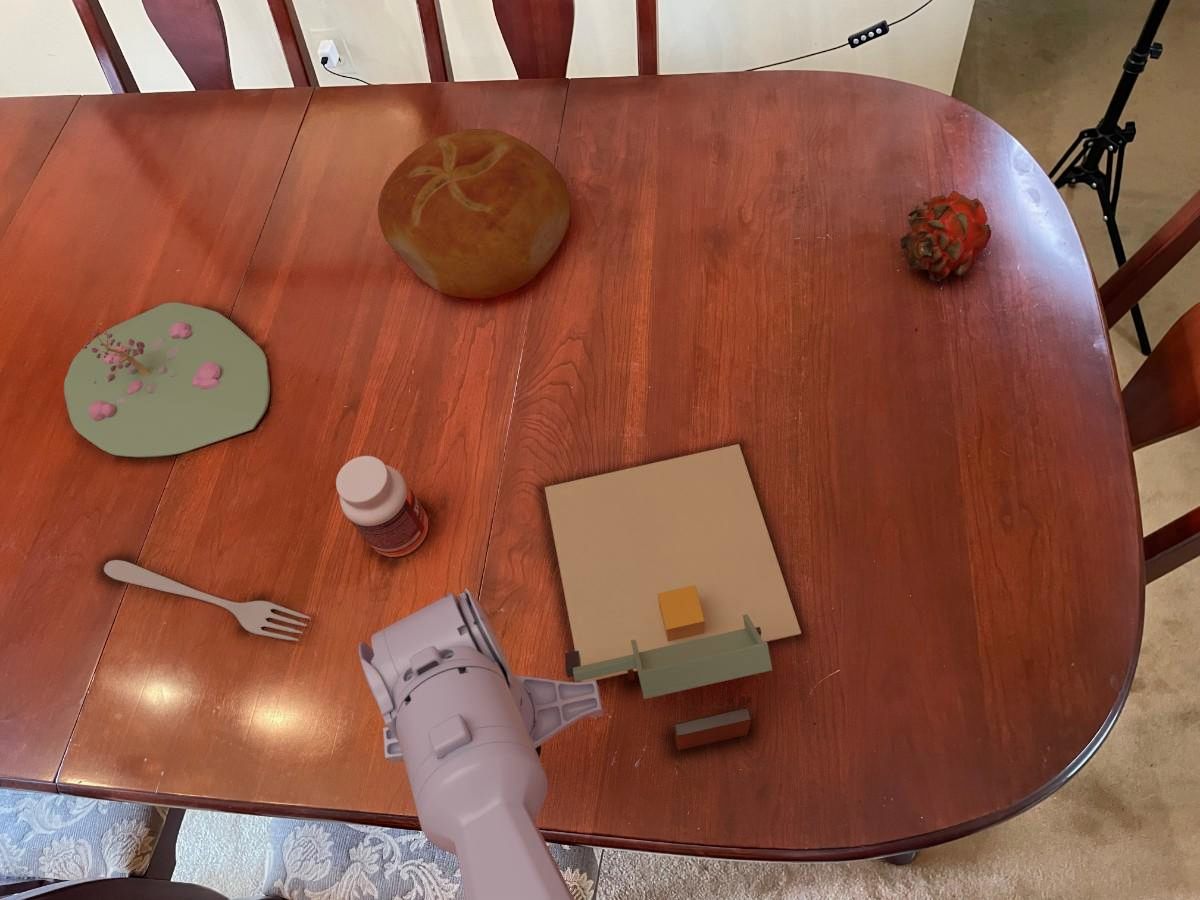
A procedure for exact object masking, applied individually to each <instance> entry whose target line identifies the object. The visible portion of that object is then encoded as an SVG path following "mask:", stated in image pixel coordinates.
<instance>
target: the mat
mask: <svg viewBox="0 0 1200 900" xmlns="http://www.w3.org/2000/svg"><path fill="white" fill-rule="evenodd" d="M544 492H545V497H546V503H547V509H548V513H549V518H550V524H551V530H552V536H553V539H554V546H555V550H556V557H557V562H558V567H559V572H560V577H561V583H562V589H563V592H564V599H565V605H566V611H567V615H568V620H569V625H570V626H569V627H570V631H571V636H572V641H573V642H572V643H573V647H574V651H579V654H580V658H581V666H584V665H588V664H592V663H597V662H601V661H606V660H610V659H615V658H619V657H623V656H628V655H632V654H634V653H633V648H632V644H631V640H636V643H637V648H638V652H643V651H648V650H652V649H657V648H661V647H665V646H670V645H674V644H679V643H683V642H688V641H692V640H696V639H701V638H705V637H710V636H714V635H719V634H723V633H727V632H732V631H736V630H741V629H745V625H744V619H743V615H746V614H747V615H748V616H749V618H750V620H751V621H752V623H753V625H754V627H755V628H756V627H760V629H761V636H760V637H761V639H762V640H763V642H767V643H769V642H773V641H777V640H781V639H786V638H790V637H794V636H795V637H796V636H799V635H802V630H801V628H800V625H799V622H798V619H797V616H796V613H795V610H794V606H793V604H792V601H791V597H790V594H789V591H788V588H787V585H786V581H785V580H784V575H783V574H782V570H781V567H780V565H779V561H778V558H777V555H776V552H775V549H774V546H773V542H772V540H771V537H770V534H769V531H768V528H767V524H766V521H765V518H764V515H763V513H762V510H761V507H760V503H759V500H758V497H757V494H756V491H755V489H754V485H753V482H752V479H751V477H750V472H749V470H748V467H747V464H746V461H745V457H744V455H743V452H742V449H741V445H740V443H737V444H733V445H728V446H724V447H723V446H722V447H719V448H715V449H710V450H706V451H702V452H697V453H696V452H695V453H693V454H688V455H683V456H679V457H673V458H670V459H665V460H661V461H656V462H653V463H648V464H643V465H639V466H634V467H629V468H626V469H621V470H616V471H612V472H607V473H603V474H598V475H594V476H589V477H585V478H580V479H576V480H575V479H574V480H571V481H567V482H562V483H558V484H553V485H549V486H544ZM693 585H695V586H696V590H697V594H698V598H699V601H700V605H701V609H702V612H703V616H704V620H705V631H704V633H703V634H698V635H694V636H689V637H685V638H681V639H676V640H672V641H667V637H666V633H665V629H664V625H663V621H662V616H661V612H660V608H659V601H658V593H662V592H667V591H671V590H676V589H680V588H685V587H689V586H693ZM633 671H634V673H637V672H638V671H637V668H635V669H633ZM626 674H627V675H628V672H627V670H626V671H621V672H617V673H613V674H608V675H604V676H599V677H595V678H591V679H586V680H582V681H580V682H586V681H592V680H596V681H600V680H605V679H609V678H614V677H618V676H622V675H626Z"/></svg>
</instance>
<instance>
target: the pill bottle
mask: <svg viewBox="0 0 1200 900" xmlns="http://www.w3.org/2000/svg"><path fill="white" fill-rule="evenodd" d="M335 487H336V491H337V493H338V495H339V504H340V508H341V511H342V513H343V514H344V515H345V517H346V518H347V519H348V520H349V521H350V523H351V524H352V525H353V526H354V527H355V529H356V530H357V531H358V532H359V533H360V535H361V536H362V537H363V538H364V540H365V541H366V542H367V544H368V545H370V546H371V548H372V549H373V550H374V551H375V552H377V553H378V554H380V555H383V556H386V557H389V558H398V557H402V556H406V555H409V554H410V553H412V552H414V551H415V550H416V549H417V548H419V547H420V546H421V544H422V543H423V542H424V540H425V539H426V536H427V534H428V530H429V517H428V516H427V513H426V511H425V509H424V507H423V506H422V505H421V503H420V501H419V500H418V498H417V496H416V495H415V494H414V492H413V490H412V489H411V487H410V486H409V484H408V482H407V481H406V480H405V478H404V476H403V475H402V474H401V472H400V471H398V470H397V469H396V468H394V467H393V466H390V465H388V464H385V463H384V462H383V461H382V460H381V459H380V458H378V457H375V456H372V455H361V456H356V457H354V458H352V459H350V460H349V461H347V462H346V463H345V464H344V465H343V466H342V467H341V468H340V469H339V471H338V474H337V475H336V479H335Z"/></svg>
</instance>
